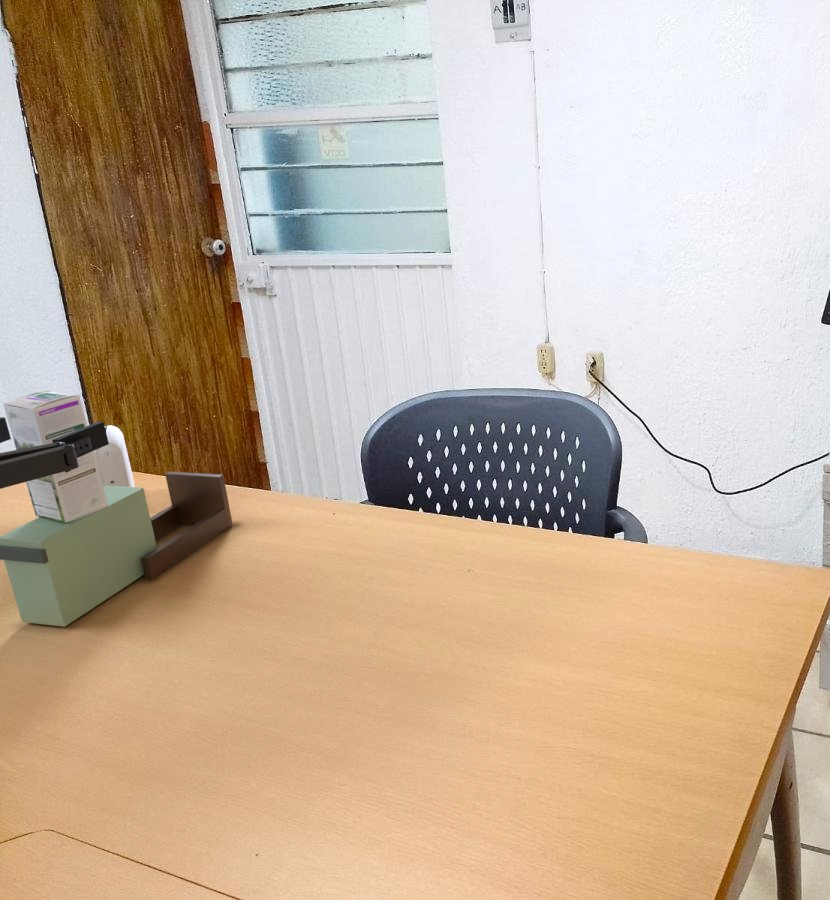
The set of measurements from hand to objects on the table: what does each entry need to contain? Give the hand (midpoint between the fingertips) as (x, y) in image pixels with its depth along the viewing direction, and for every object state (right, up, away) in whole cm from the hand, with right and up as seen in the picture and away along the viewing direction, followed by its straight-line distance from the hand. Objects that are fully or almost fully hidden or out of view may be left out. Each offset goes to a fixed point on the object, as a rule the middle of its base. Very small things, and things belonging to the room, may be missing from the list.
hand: (54, 430), depth 97 cm
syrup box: (0, -10, +3) cm, 11 cm away
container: (+1, -20, +7) cm, 21 cm away
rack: (+3, -16, +19) cm, 25 cm away
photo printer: (-12, -11, +35) cm, 39 cm away
